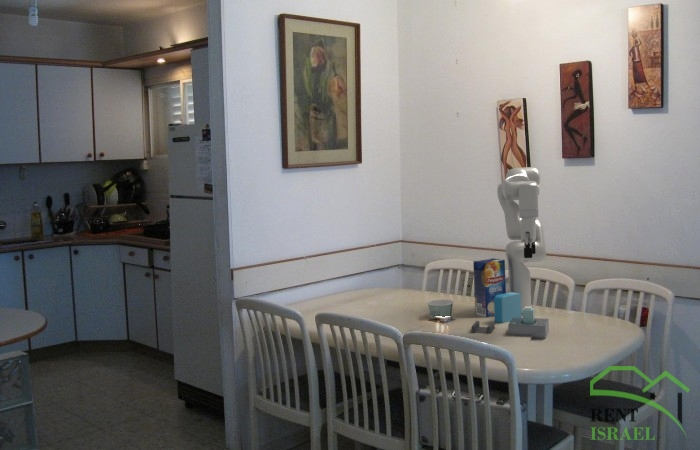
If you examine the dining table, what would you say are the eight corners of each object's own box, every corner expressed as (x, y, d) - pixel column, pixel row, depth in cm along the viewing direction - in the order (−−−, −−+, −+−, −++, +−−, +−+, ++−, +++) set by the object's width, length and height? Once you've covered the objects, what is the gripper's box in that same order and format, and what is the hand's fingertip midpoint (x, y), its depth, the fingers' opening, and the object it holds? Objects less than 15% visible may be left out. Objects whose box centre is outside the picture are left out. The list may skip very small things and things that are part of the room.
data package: (513, 319, 314) (512, 291, 313) (521, 320, 310) (521, 292, 309) (494, 324, 307) (493, 295, 306) (502, 325, 303) (501, 297, 302)
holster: (475, 329, 300) (475, 320, 299) (495, 329, 297) (495, 321, 296) (471, 335, 290) (470, 326, 290) (491, 335, 288) (490, 327, 287)
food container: (423, 318, 324) (422, 304, 323) (433, 312, 335) (432, 298, 334) (448, 320, 318) (448, 305, 318) (458, 314, 329) (457, 300, 328)
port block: (513, 329, 295) (512, 316, 295) (548, 331, 290) (548, 317, 290) (508, 337, 284) (508, 323, 284) (545, 338, 279) (545, 324, 278)
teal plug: (524, 332, 290) (523, 306, 289) (534, 333, 288) (533, 306, 287) (523, 335, 286) (522, 308, 285) (533, 335, 285) (532, 308, 284)
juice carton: (486, 317, 320) (484, 263, 318) (475, 314, 326) (473, 261, 324) (506, 312, 326) (504, 259, 324) (495, 310, 333) (493, 258, 330)
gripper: (522, 211, 302) (523, 252, 304) (515, 216, 286) (517, 259, 288) (540, 211, 299) (541, 252, 301) (535, 216, 283) (536, 259, 285)
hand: (529, 255), depth 294 cm, fingers open, 9 cm apart
